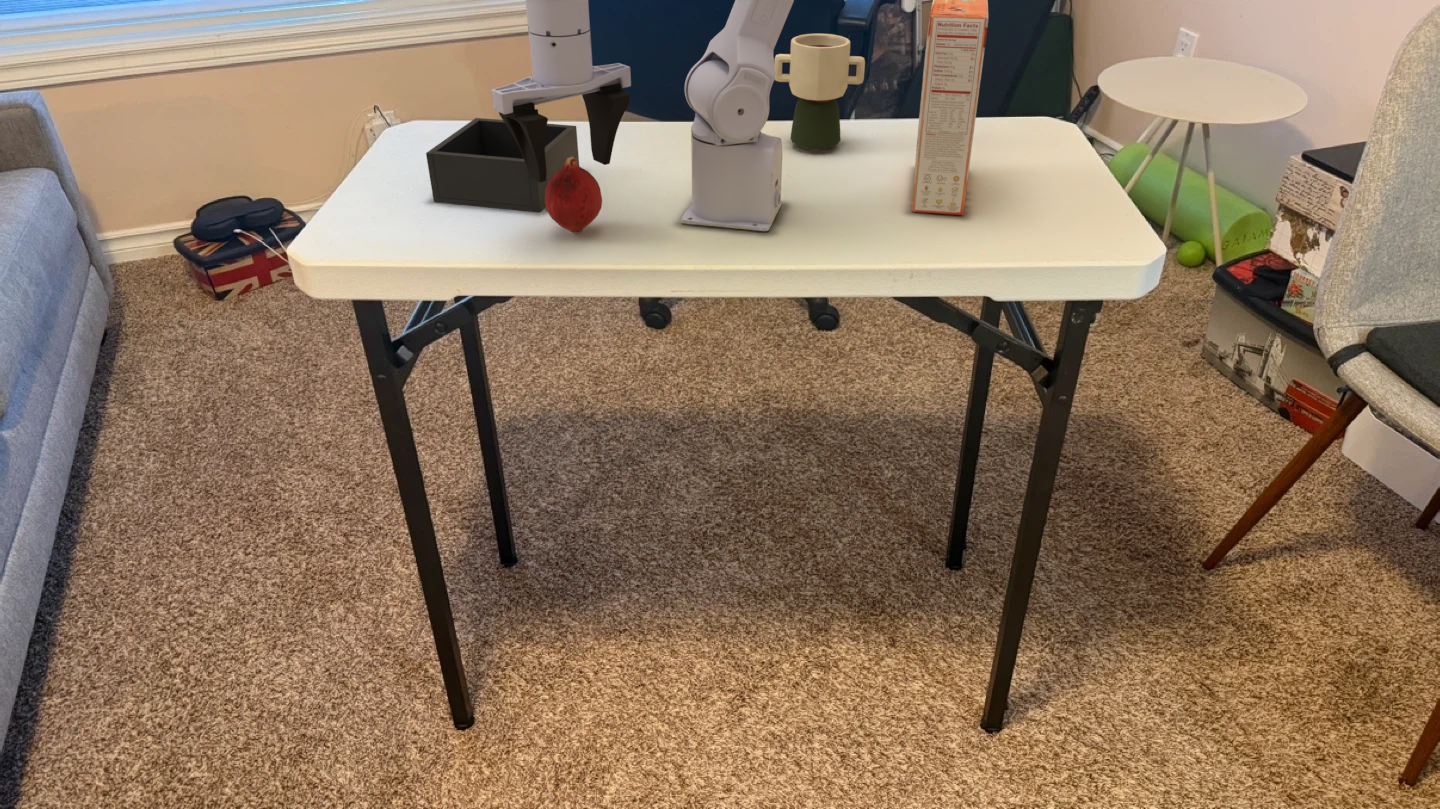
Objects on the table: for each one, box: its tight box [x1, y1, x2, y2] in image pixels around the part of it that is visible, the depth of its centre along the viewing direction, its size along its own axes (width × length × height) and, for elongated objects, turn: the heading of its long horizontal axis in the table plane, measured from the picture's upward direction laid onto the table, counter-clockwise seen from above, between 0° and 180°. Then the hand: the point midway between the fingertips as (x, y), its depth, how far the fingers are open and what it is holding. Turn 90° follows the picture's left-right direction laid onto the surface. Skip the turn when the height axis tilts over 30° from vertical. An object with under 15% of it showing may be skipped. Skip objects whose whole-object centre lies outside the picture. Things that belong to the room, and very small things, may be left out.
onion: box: [545, 157, 603, 234], centre depth 103 cm, size 6×6×8 cm
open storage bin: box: [425, 117, 580, 213], centre depth 115 cm, size 13×13×6 cm
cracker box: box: [911, 0, 989, 216], centre depth 110 cm, size 14×6×21 cm, turn 168°
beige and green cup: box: [774, 33, 866, 151], centre depth 125 cm, size 11×7×13 cm, turn 83°
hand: (570, 170), depth 102 cm, fingers open, 7 cm apart
